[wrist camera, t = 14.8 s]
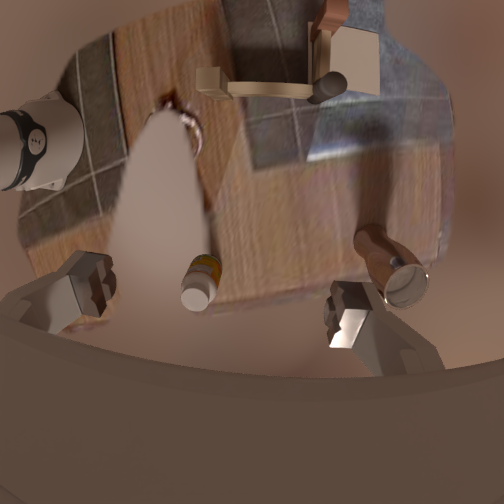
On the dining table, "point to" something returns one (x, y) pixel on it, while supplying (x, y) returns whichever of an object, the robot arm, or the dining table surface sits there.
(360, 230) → the beer glass
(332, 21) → the fence gate
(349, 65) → the card
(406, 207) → the dining table surface
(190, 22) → the dining table surface
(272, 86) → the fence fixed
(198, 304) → the supplement bottle
